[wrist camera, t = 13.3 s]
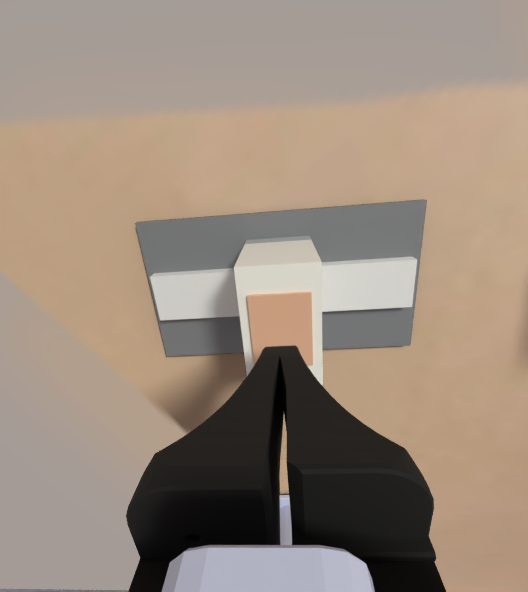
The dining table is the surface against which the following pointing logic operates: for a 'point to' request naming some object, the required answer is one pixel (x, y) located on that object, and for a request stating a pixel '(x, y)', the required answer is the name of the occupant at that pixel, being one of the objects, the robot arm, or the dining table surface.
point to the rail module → (280, 298)
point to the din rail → (335, 273)
